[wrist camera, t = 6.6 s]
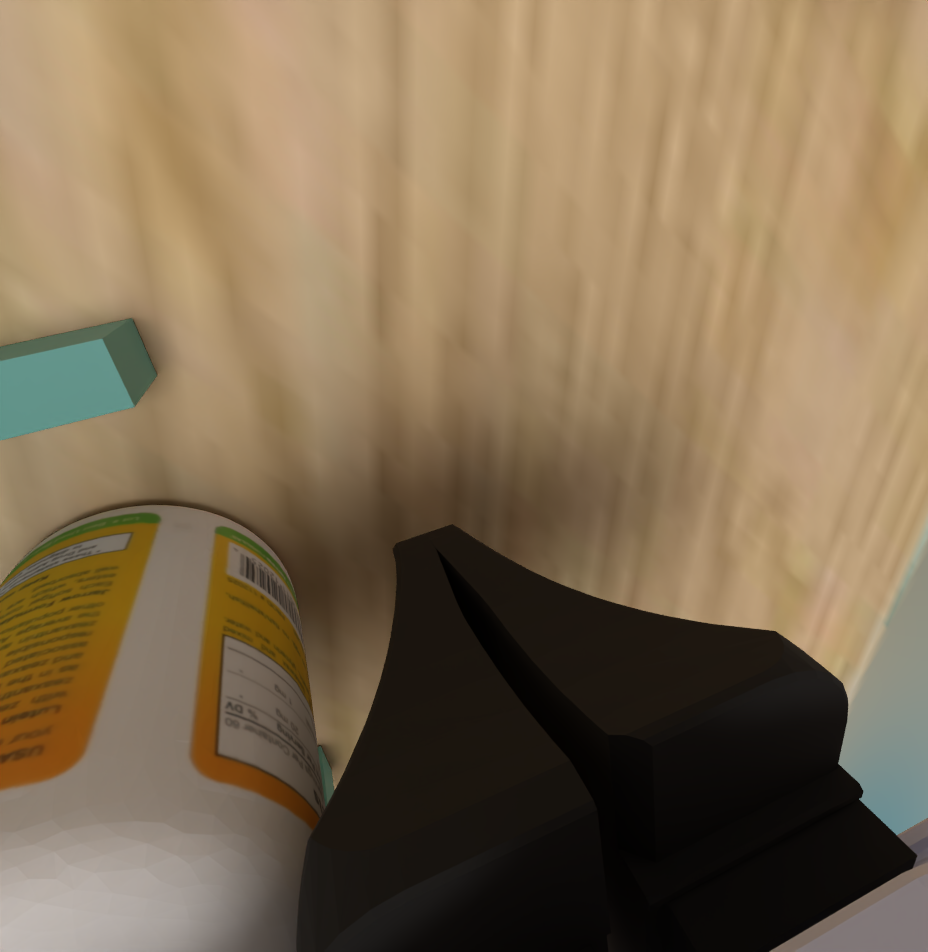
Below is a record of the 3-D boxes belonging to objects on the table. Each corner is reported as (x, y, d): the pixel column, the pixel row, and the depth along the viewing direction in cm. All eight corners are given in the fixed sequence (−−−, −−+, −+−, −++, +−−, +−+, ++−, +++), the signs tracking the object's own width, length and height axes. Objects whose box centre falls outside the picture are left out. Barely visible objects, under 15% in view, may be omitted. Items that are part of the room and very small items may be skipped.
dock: (331, 770, 15) (360, 996, 10) (21, 898, 13) (-98, 1229, 9) (131, 317, 9) (17, 396, 5) (-443, 442, 8) (-1374, 723, 3)
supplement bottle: (-23, 712, 11) (-995, 2366, 2) (29, 466, 10) (-1609, 2090, 1) (258, 725, 13) (273, 1578, 5) (330, 528, 12) (520, 1208, 4)
